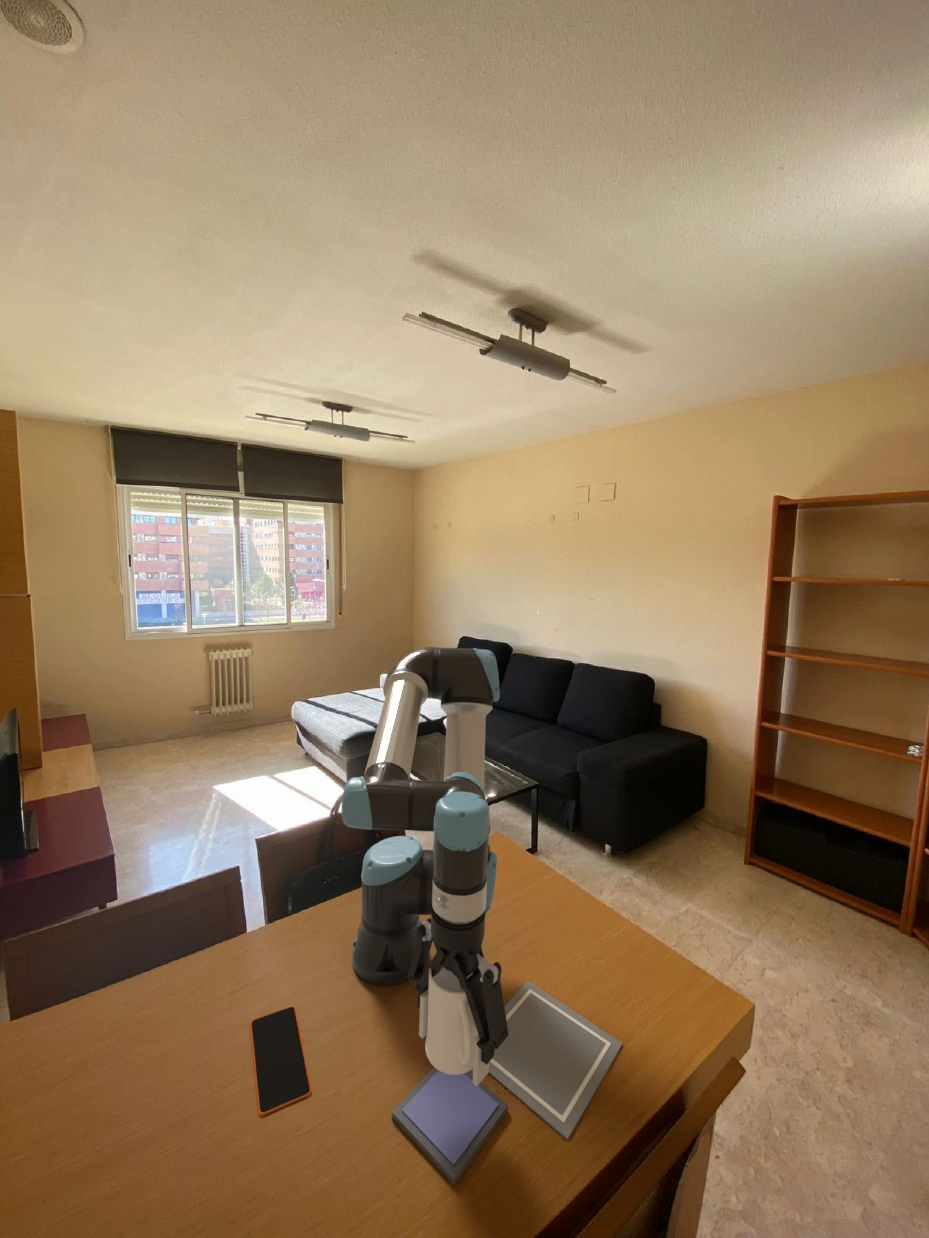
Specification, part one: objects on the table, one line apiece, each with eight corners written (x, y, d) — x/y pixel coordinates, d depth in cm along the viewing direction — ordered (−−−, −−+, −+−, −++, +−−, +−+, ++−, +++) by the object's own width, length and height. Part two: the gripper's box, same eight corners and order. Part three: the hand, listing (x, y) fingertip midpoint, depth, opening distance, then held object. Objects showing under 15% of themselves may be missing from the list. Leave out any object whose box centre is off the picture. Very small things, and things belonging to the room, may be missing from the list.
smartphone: (258, 1120, 72) (258, 1115, 72) (249, 1024, 87) (249, 1019, 87) (313, 1096, 76) (313, 1091, 75) (295, 1008, 90) (295, 1003, 90)
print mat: (464, 1052, 83) (464, 1050, 83) (527, 982, 97) (527, 980, 97) (567, 1140, 71) (567, 1137, 71) (622, 1044, 85) (622, 1042, 85)
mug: (492, 1096, 67) (496, 1013, 65) (428, 1103, 65) (430, 1019, 64) (478, 1017, 78) (481, 946, 77) (423, 1022, 77) (425, 949, 76)
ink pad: (391, 1117, 73) (391, 1110, 73) (447, 1057, 82) (447, 1050, 82) (454, 1185, 65) (454, 1177, 65) (507, 1110, 74) (508, 1103, 74)
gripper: (384, 885, 74) (381, 1023, 76) (508, 965, 60) (500, 1132, 62) (421, 863, 80) (416, 992, 82) (541, 932, 66) (532, 1086, 68)
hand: (452, 1052), depth 72 cm, fingers closed on mug, 10 cm apart
